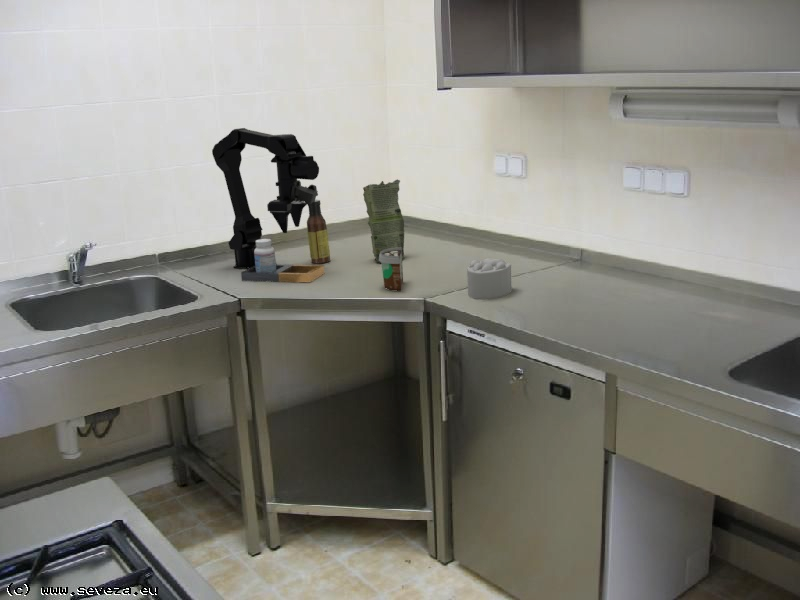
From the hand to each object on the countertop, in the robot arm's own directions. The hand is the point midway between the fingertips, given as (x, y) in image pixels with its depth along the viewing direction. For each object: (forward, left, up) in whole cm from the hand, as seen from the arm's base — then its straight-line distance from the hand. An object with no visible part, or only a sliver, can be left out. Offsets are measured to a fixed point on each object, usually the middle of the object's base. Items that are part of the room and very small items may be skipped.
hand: (291, 229), depth 254 cm
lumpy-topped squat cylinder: (+63, -16, -14) cm, 67 cm away
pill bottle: (-7, -6, -14) cm, 16 cm away
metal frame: (-1, -6, -13) cm, 15 cm away
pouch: (+23, +19, -14) cm, 33 cm away
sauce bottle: (+2, +14, -14) cm, 20 cm away
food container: (+35, -13, -14) cm, 40 cm away
